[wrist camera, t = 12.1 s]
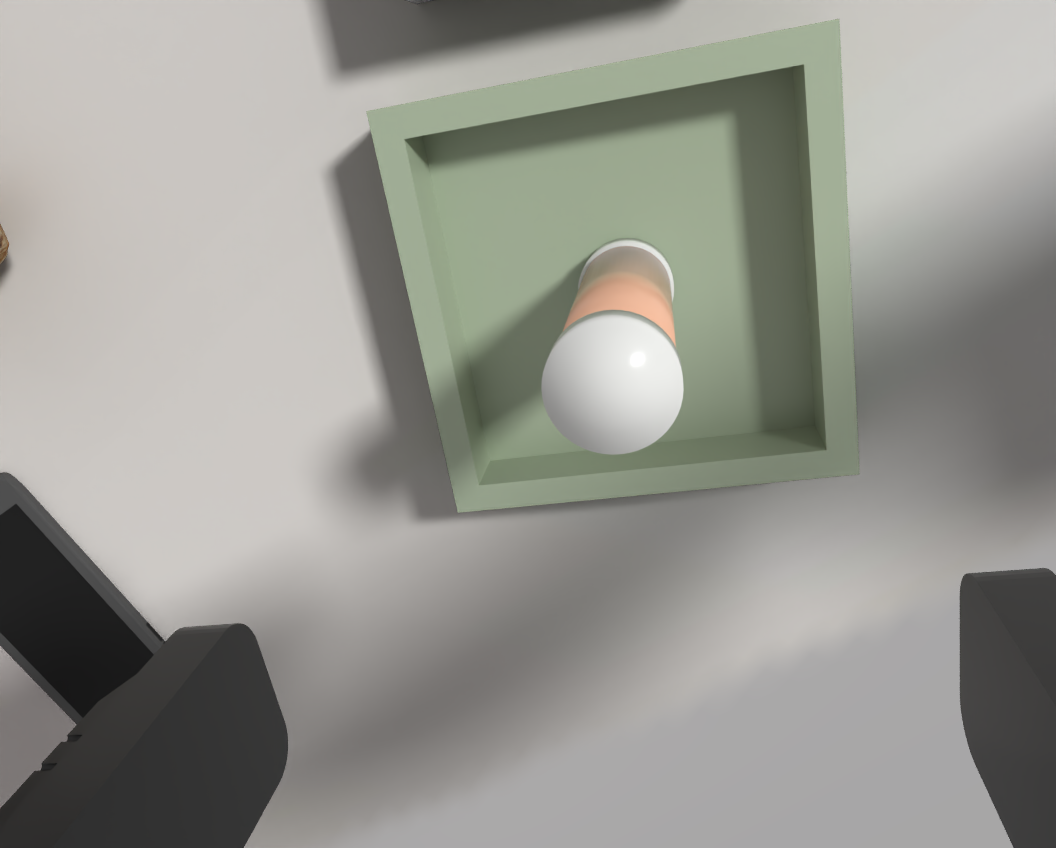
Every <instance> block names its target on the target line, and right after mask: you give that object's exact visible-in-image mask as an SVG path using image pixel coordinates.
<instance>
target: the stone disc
mask: <svg viewBox="0 0 1056 848" xmlns="http://www.w3.org/2000/svg"><path fill="white" fill-rule="evenodd" d="M8 246H9V242H8V240H7V237H6V235H5V233H4V231H3V229H2V226H1V224H0V264H1V263H2V262H3V260H4V259H5V258H6V256H7V251H8Z"/></svg>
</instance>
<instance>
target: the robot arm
mask: <svg viewBox="0 0 1056 848" xmlns="http://www.w3.org/2000/svg"><path fill="white" fill-rule="evenodd" d="M960 705H961V713H962V720H963V725H964V730H965V735H966V738H967V742H968V746H969V749H970V752H971V755H972V757H973V760H974V762H975V765H976V767H977V769H978V771H979V774H980V776H981V778H982V780H983V782H984V784H985V787H986V789H987V791H988V793H989V795H990V797H991V800H992V802H993V804H994V806H995V808H996V810H997V813H998V815H999V817H1000V819H1001V821H1002V823H1003V825H1004V828H1005V830H1006V832H1007V834H1008V837H1009V839H1010V841H1011V843H1012V845H1013V847H1014V848H1056V575H1055V574H1054V573H1053V572H1052V571H1051V570H1049V569H1046V568H1039V569H1024V570H1010V571H996V572H982V573H968V574H965V575H964V576H963V578H962V581H961V586H960ZM287 753H288V736H287V729H286V725H285V721H284V718H283V715H282V713H281V710H280V707H279V704H278V701H277V698H276V695H275V692H274V689H273V686H272V683H271V680H270V677H269V675H268V672H267V669H266V666H265V663H264V660H263V657H262V654H261V651H260V648H259V645H258V642H257V640H256V637H255V635H254V634H253V632H252V631H251V629H250V628H249V627H247V626H246V625H244V624H223V625H209V626H195V627H184V628H180V629H179V630H177V631H175V632H174V633H173V634H172V635H171V636H170V637H169V639H168V640H167V641H166V642H165V643H164V644H163V645H162V646H161V648H160V649H159V650H158V651H157V652H156V653H155V654H154V655H153V657H152V658H151V659H150V660H149V661H148V662H147V663H146V664H145V666H144V667H143V668H142V669H141V670H140V671H139V672H138V673H137V674H136V675H135V676H133V677H132V678H130V679H129V680H128V681H126V682H125V683H123V684H122V685H121V686H119V687H118V688H116V689H115V690H114V691H112V692H111V693H109V694H108V695H107V696H105V697H104V698H102V699H101V700H100V701H98V702H97V703H96V705H95V706H94V707H93V708H92V709H91V710H90V711H89V712H88V713H87V714H86V715H85V717H84V718H83V719H82V720H81V721H80V722H79V723H78V724H77V725H76V726H75V728H74V729H73V730H72V731H71V732H70V733H69V734H68V740H67V742H61V743H60V744H59V745H58V746H57V747H56V748H55V749H54V750H53V752H52V753H51V754H50V755H49V756H48V757H47V758H46V759H45V760H44V761H43V763H42V768H41V771H34V772H33V773H32V775H31V776H30V777H29V778H28V779H27V780H26V781H25V782H24V783H23V784H22V785H21V787H20V788H19V789H18V790H17V791H16V792H15V793H14V794H13V795H12V796H11V798H10V799H9V800H8V801H7V802H6V803H5V804H4V805H3V806H2V807H1V808H0V848H244V846H245V844H246V842H247V841H248V839H249V837H250V835H251V833H252V831H253V830H254V828H255V826H256V824H257V822H258V821H259V819H260V817H261V815H262V813H263V811H264V810H265V808H266V806H267V804H268V802H269V800H270V799H271V797H272V795H273V793H274V791H275V790H276V788H277V786H278V784H279V782H280V780H281V778H282V775H283V772H284V769H285V765H286V760H287Z"/></svg>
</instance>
